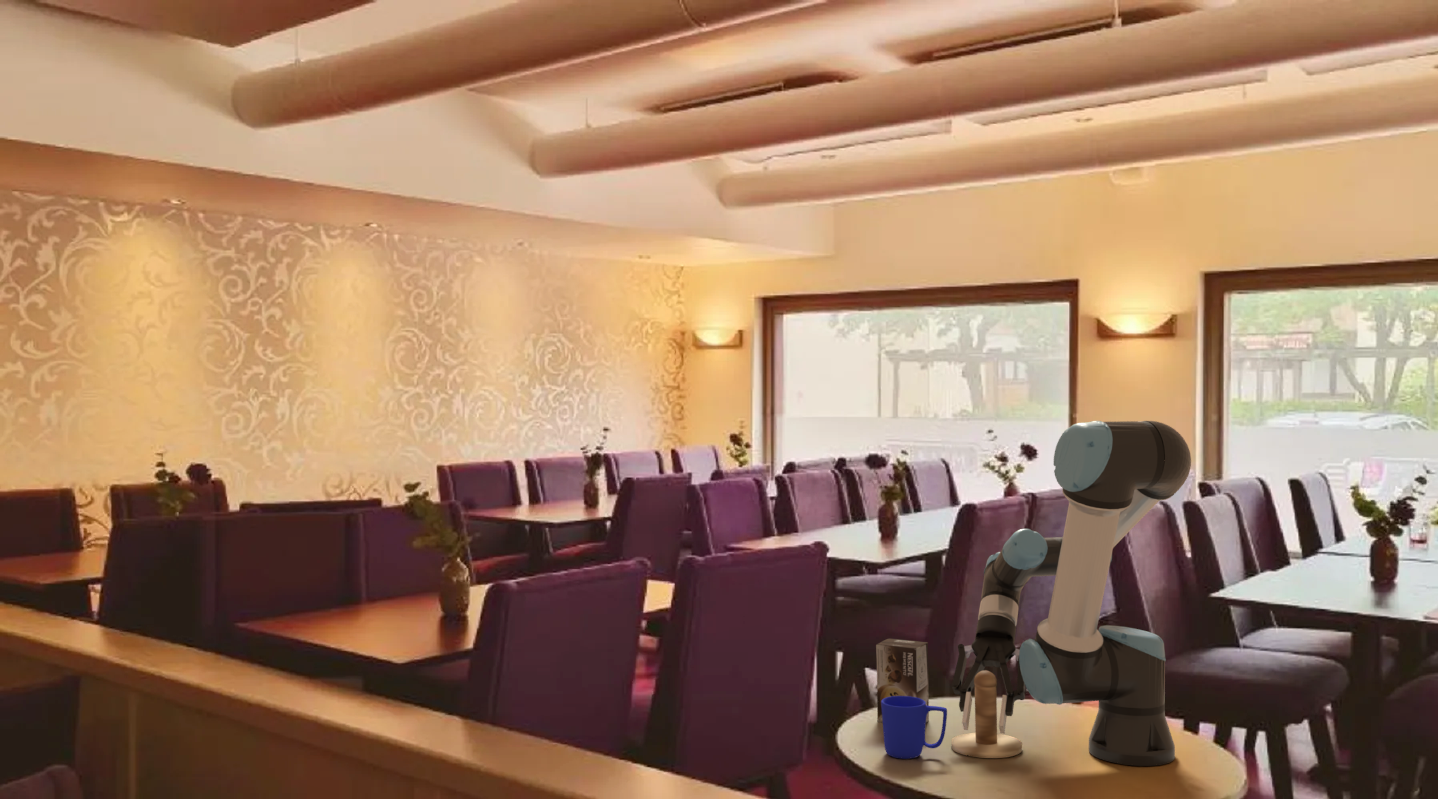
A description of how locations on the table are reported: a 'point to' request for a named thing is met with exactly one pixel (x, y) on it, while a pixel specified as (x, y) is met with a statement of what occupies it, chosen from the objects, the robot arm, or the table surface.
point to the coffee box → (901, 671)
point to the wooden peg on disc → (986, 725)
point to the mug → (907, 725)
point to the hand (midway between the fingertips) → (983, 727)
